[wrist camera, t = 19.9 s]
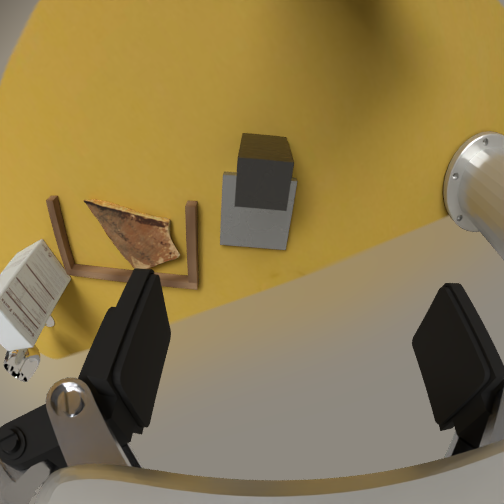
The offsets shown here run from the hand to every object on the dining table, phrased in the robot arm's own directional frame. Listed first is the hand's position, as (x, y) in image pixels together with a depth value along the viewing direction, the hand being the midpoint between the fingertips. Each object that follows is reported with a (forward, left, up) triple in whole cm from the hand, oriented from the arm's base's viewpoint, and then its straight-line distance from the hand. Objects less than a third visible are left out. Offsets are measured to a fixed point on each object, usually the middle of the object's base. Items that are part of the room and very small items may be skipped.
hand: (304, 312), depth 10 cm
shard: (+15, +13, -22) cm, 30 cm away
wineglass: (+35, +31, -22) cm, 51 cm away
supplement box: (+30, +19, -22) cm, 42 cm away
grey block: (+1, +6, -22) cm, 23 cm away
